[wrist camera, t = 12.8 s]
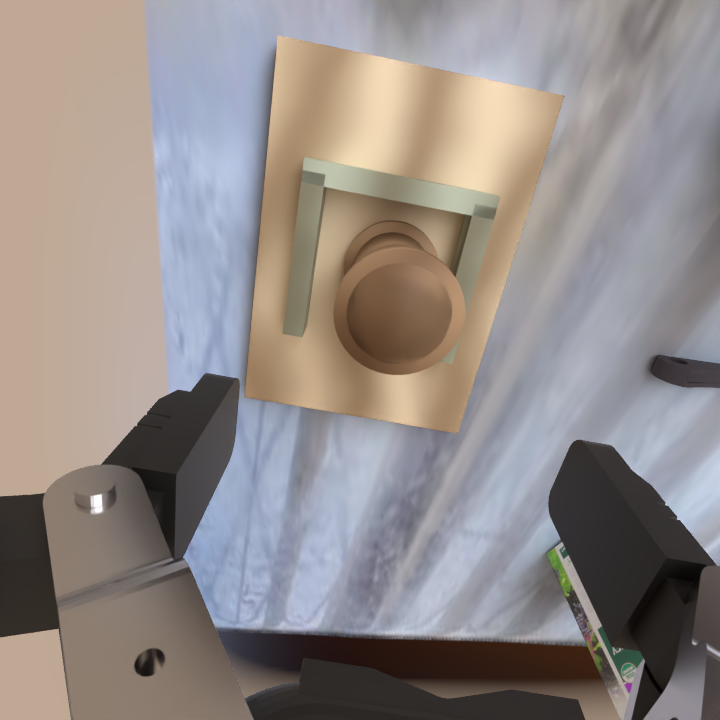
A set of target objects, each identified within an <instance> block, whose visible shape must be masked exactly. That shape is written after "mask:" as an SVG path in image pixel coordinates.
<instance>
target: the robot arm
mask: <svg viewBox="0 0 720 720" xmlns="http://www.w3.org/2000/svg"><path fill="white" fill-rule="evenodd" d="M239 388H240V384H239V379H237V378H231V377H226V376H220V375H214V374H209V373H206V374H204V375H203V377H202V378H201V379H200V380H199V382H198V383H197V384H196V386H195V387H194V388H193V389H192V391H191V392H188V391H182V390H177V391H175V392H173V393H171V394H169V395H167V396H165V397H163V398H161V399H159V400H158V401H157V402H156V403H155V404H154V405H153V407H152V408H151V409H150V410H149V411H148V412H147V415H145V416H144V417H143V418H142V419H141V420H140V421H139V422H138V424H137V426H135V427H134V428H133V429H132V430H131V431H130V433H129V434H128V435H127V436H126V437H125V438H124V439H123V440H122V442H121V443H120V444H119V445H118V446H117V447H116V448H115V449H114V451H113V452H112V453H111V454H110V455H109V456H108V458H106V460H105V461H104V462H103V463H102V464H101V465H94V466H88V467H84V468H80V469H78V470H75V471H72V472H70V473H68V474H66V475H64V476H63V477H61V478H59V479H58V480H56V481H55V482H54V483H53V484H52V485H51V486H50V487H49V488H48V489H47V491H46V493H43V494H35V495H19V496H2V497H0V637H6V636H12V635H19V634H26V633H33V632H39V631H46V630H52V629H59V635H60V641H61V649H62V656H63V664H64V672H65V679H66V686H67V693H68V700H69V708H70V716H71V720H585V718H584V715H583V712H582V710H581V707H580V705H579V701H578V700H576V699H569V698H563V697H556V696H550V695H543V694H537V693H530V692H524V691H516V690H506V691H500V692H493V693H486V694H480V695H472V696H466V697H460V698H453V699H446V698H441V697H438V696H436V695H433V694H431V693H428V692H426V691H424V690H422V689H419V688H417V687H415V686H412V685H410V684H408V683H405V682H403V681H401V680H398V679H396V678H394V677H391V676H389V675H386V674H384V673H382V672H380V671H377V670H375V669H373V668H367V667H360V666H354V665H347V664H341V663H334V662H328V661H321V660H315V659H308V658H304V659H303V665H302V669H301V674H300V679H299V682H295V683H288V684H282V685H279V686H275V687H272V688H268V689H265V690H263V691H260V692H258V693H256V694H254V695H251V696H249V697H247V698H244V695H243V693H242V691H241V689H240V686H239V684H238V681H237V679H236V677H235V674H234V672H233V669H232V667H231V664H230V663H229V660H228V658H227V655H226V653H225V650H224V648H223V645H222V643H221V641H220V639H219V636H218V634H217V631H216V629H215V626H214V624H213V621H212V619H211V617H210V614H209V612H208V610H207V607H206V605H205V602H204V600H203V598H202V595H201V593H200V590H199V588H198V586H197V583H196V581H195V579H194V576H193V574H192V571H191V569H190V567H189V565H188V563H187V562H186V561H185V559H183V556H184V554H185V552H186V550H187V548H188V546H189V544H190V542H191V539H192V537H193V535H194V533H195V531H196V529H197V527H198V525H199V523H200V521H201V519H202V517H203V515H204V512H205V510H206V508H207V506H208V504H209V502H210V500H211V498H212V496H213V494H214V492H215V490H216V488H217V485H218V483H219V481H220V479H221V477H222V475H223V473H224V471H225V469H226V467H227V465H228V463H229V460H230V458H231V455H232V451H233V447H234V442H235V435H236V424H237V412H238V400H239ZM549 513H550V517H551V519H552V521H553V523H554V525H555V528H556V530H557V532H558V534H559V536H560V538H561V540H562V542H563V545H564V547H565V549H566V551H567V553H568V555H569V557H570V559H571V562H572V564H573V566H574V568H575V570H576V572H577V574H578V576H579V578H580V581H581V583H582V585H583V587H584V589H585V591H586V593H587V595H588V598H589V600H590V602H591V604H592V606H593V608H594V610H595V612H596V614H597V617H598V619H599V621H600V623H601V625H602V627H603V629H604V631H605V634H606V636H607V638H608V640H609V642H610V644H611V646H612V647H615V648H622V649H628V650H634V651H640V652H641V654H642V656H643V660H642V661H641V663H640V664H639V666H638V667H637V669H636V671H635V675H634V679H633V683H632V687H631V691H630V695H629V699H628V703H627V707H626V711H625V715H624V719H623V720H720V566H717V565H716V564H715V563H714V561H713V560H712V559H711V558H710V557H709V555H708V554H707V553H706V552H705V550H704V549H703V548H702V547H701V546H700V544H699V543H698V542H697V541H696V539H695V538H694V537H693V536H692V535H691V533H690V532H689V531H688V530H687V528H686V527H685V526H684V525H683V524H682V522H681V521H680V520H677V516H676V515H675V514H674V513H673V511H672V510H671V509H670V508H669V506H665V502H664V500H663V499H662V498H661V497H660V495H659V494H658V493H657V492H656V491H655V489H654V488H653V487H652V486H651V485H650V484H649V483H647V482H646V481H645V480H644V479H642V478H641V477H640V476H638V475H637V474H636V473H635V472H633V471H632V470H631V469H630V467H629V466H628V465H627V464H626V462H625V461H624V460H623V458H622V457H621V456H620V455H619V453H618V452H617V451H616V450H615V449H614V448H613V447H612V446H611V445H606V444H601V443H595V442H589V441H584V440H576V441H574V442H573V443H572V445H571V446H570V448H569V450H568V452H567V455H566V457H565V459H564V461H563V464H562V466H561V468H560V470H559V473H558V475H557V477H556V480H555V482H554V484H553V486H552V489H551V491H550V495H549Z"/></svg>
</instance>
